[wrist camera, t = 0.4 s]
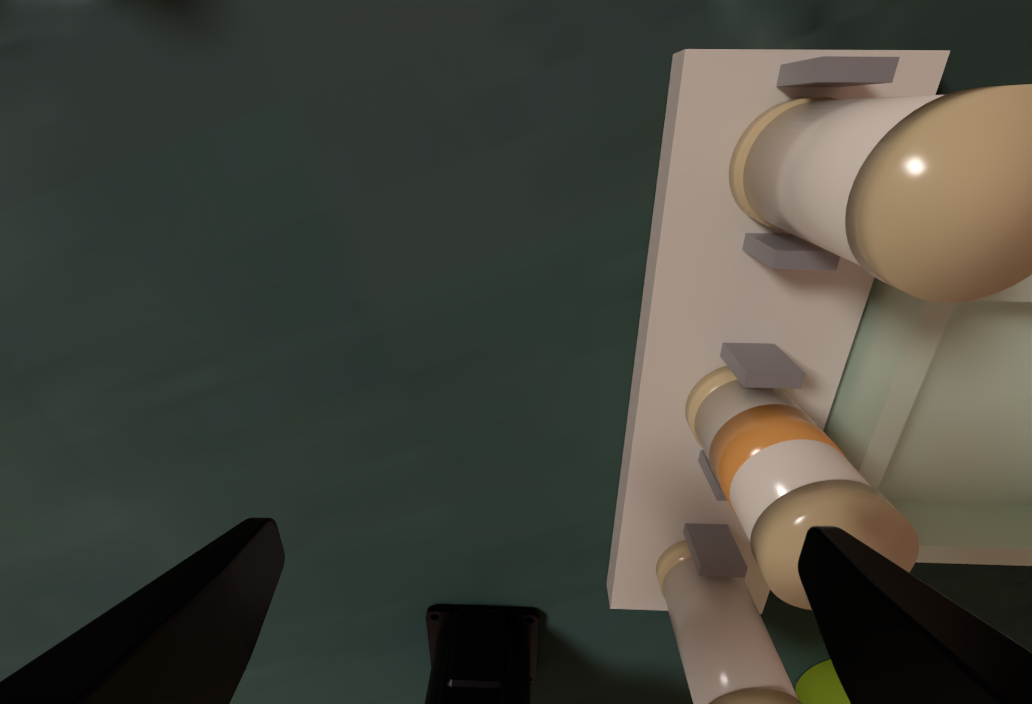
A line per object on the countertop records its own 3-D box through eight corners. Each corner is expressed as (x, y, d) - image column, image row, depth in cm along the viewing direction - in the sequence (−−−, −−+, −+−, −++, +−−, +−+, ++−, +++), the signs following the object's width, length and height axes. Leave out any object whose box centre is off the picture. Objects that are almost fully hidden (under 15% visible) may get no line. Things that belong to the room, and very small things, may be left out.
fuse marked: (770, 446, 22) (890, 613, 14) (678, 443, 22) (750, 608, 14) (793, 364, 20) (942, 508, 13) (693, 362, 20) (783, 503, 13)
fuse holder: (750, 589, 28) (783, 660, 24) (606, 584, 28) (617, 654, 24) (916, 55, 16) (1023, 39, 13) (673, 54, 17) (711, 38, 13)
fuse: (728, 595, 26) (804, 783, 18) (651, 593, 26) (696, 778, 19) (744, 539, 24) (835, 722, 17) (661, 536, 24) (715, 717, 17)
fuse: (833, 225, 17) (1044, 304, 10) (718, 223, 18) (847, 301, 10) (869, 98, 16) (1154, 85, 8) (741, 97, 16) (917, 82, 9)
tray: (1033, 509, 24) (1107, 568, 21) (787, 502, 25) (824, 559, 22) (1191, 249, 19) (1323, 276, 16) (870, 244, 19) (937, 270, 16)
